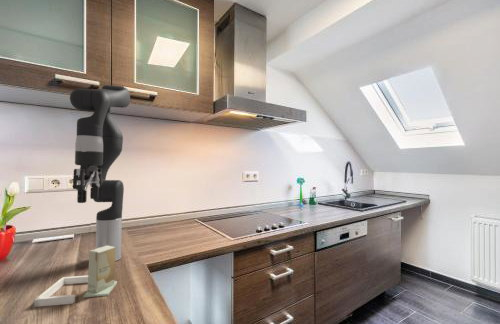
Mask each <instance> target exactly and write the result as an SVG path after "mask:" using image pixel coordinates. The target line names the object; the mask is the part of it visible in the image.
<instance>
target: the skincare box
mask: <svg viewBox="0 0 500 324" xmlns="http://www.w3.org/2000/svg"><path fill="white" fill-rule="evenodd" d="M115 252H116V247H113V246H108V245H107V246H104V247H100V248H97V249H96V248H95V249H91V250H89V253H88V254H89V255H88V283H87V291H88V290H89V291H92V292H96V293H97V292H99V291H101V290H104V289H106V288H108V287H110V286H112V285H114V281H115V279H116V278H115V277H116V273H115V272H116V261H115Z"/></svg>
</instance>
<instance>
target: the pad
mask: <svg viewBox="0 0 500 324" xmlns="http://www.w3.org/2000/svg"><path fill="white" fill-rule="evenodd" d="M117 284H118V281H117V280H114V285H112V286H110V287H108V288H106V289H104V290H101V291H99V292H97V293H96V292H92V291H89V290H88V289H87V291H86V292H85V293H84V295H83V298H93V297H104V296H106V297H107V296H109V295H110V293H111V292H112V290H113V289H114V288H115V286H116V285H117Z"/></svg>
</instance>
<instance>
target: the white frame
mask: <svg viewBox="0 0 500 324" xmlns="http://www.w3.org/2000/svg"><path fill="white" fill-rule="evenodd" d="M73 284H74V285H75V284H88V275H76V276H63V277H61V278H59V280H57V281H56V282H55V283H53V284H52V285H51V286H50V287H49V288H47V289H46V290H44V291H43V292H42V293H41V294H40V295H38V296H37V297H36V298H34V300H33V308H37V307H38V308H39V307H47V306H49V307H50V306H59V305H71V304H72V305H73V304H74V303H75V302H76V294H66V295H55V296H54V294H55V293H56V292H57V291H59V290H60V289H61V288H62V287H63V286H64V285H73Z"/></svg>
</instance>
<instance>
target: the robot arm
mask: <svg viewBox="0 0 500 324" xmlns="http://www.w3.org/2000/svg"><path fill="white" fill-rule="evenodd" d="M69 101H70V104H71V105H72V107H73V108H75V110H78V111H81V112H93V114H91V115H90V116H85V117H80V118H77V120H76V138H75V147H74V149H75V150H74V164H75V165H76V166H79V168H74V169H73V175H72V177H73V178H72V179H73V181H72V189H73V190H76V191H77V198H76V201H77V202H76V203H78V204H83V203H87V193H88V192H87V191H88V190H87V189H88V187H89V186H90V193H89V196H90V200H93V201H94V202H95V203H111V205H110V207H108V208H105V209H103V210H100V211H97V213H96V223H95V227H96V230H95V249H97V248H100V247H104V246H107V245H108V246H113V247H116V252H115V262H117V261H119V260H120V259H122V236H123V235H122V232H123V231H122V229H123V228H122V226H123V225H122V224H123V223H122V222H123V203H124V190H125V189H124V183H123V181H122V180H119V179H118V180H117V179H106V177H107V174H108V171H109V169H110V168H111V166H112V165H113V164H114V163H115V161H116V160H117V159H118V158H119V156H120V155H121V153H122V150H123V143H124V141H123V140H124V136H123V133H122V131H121V129H120V127H119V126H118V125H117V123H116V122H115V120H114V118H113V115H112V113H111V108H127V107H128V106H130V103H131V93H130V90H128V88H127V87H125V86H119V85H107V84H104V85H103V86H102V87H101V88H95V89H90V88H89V89H88V88H79V87H78V88H75V89H73V90H72V92H71V93H70V96H69Z"/></svg>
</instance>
